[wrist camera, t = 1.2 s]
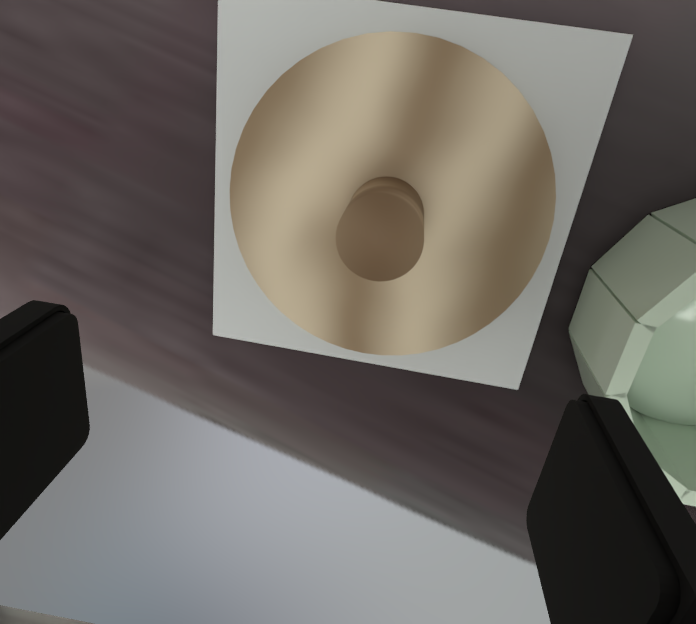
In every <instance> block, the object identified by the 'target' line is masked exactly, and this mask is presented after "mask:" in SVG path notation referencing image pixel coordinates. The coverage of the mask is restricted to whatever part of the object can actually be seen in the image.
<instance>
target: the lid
mask: <svg viewBox="0 0 696 624" xmlns="http://www.w3.org/2000/svg"><path fill="white" fill-rule="evenodd" d="M555 204H556V183H555V172H554V166H553V161H552V155H551V151H550V148H549V145H548V142H547V139H546V136H545V133H544V131H543V129H542V127H541V125H540V123H539V121H538V119H537V117H536V115H535V113H534V111H533V109H532V108H531V106H530V105H529V104H528V102H527V101H526V99H525V98H524V96H523V95H522V94H521V92H520V91H519V90H518V89H517V88H516V87H515V86H514V84H513V83H512V82H511V81H510V80H509V79H508V78H507V77H506V76H505V75H504V74H503V73H502V72H501V71H499V70H498V69H497V68H495V67H494V66H493V65H491V64H490V63H489V62H488V61H486V60H485V59H484V58H482V57H480V56H478V55H477V54H475V53H473V52H471V51H469V50H468V49H466V48H464V47H462V46H460V45H457V44H454V43H452V42H449V41H446V40H444V39H441V38H438V37H433V36H428V35H423V34H419V33H411V32H394V31H389V32H377V33H366V34H362V35H358V36H354V37H350V38H346V39H342V40H340V41H337V42H335V43H332V44H330V45H327V46H325V47H322V48H320V49H318V50H317V51H315V52H313V53H311V54H310V55H308V56H306V57H305V58H303V59H301V60H300V61H299V62H297V63H296V64H295V65H293V66H292V67H291V68H290V69H288V70H287V71H286V72H285V73H283V74H282V75H281V76H280V77H279V78H278V79H277V80H276V81H275V83H274V84H273V85H272V86H271V87H270V88H269V89H268V90H267V91H266V92H265V94H264V95H263V97H262V98H261V99H260V101H259V102H258V104H257V105H256V106H255V108H254V109H253V111H252V113H251V115H250V117H249V119H248V121H247V122H246V124H245V126H244V128H243V131H242V133H241V136H240V139H239V142H238V144H237V147H236V151H235V155H234V160H233V164H232V169H231V179H230V211H231V218H232V224H233V230H234V233H235V237H236V240H237V243H238V247H239V250H240V252H241V254H242V257H243V259H244V261H245V264H246V266H247V268H248V270H249V271H250V273H251V275H252V276H253V278H254V280H255V281H256V283H257V285H258V286H259V287H260V289H261V290H262V291H263V292H264V294H265V295H266V296H267V298H268V299H269V300H270V301H271V302H272V303H273V304H274V305H275V306H276V307H277V308H278V309H279V310H280V311H281V312H282V313H283V314H284V315H285V316H286V317H288V318H289V319H290V320H291V321H293V322H294V323H295V324H296V325H298V326H299V327H301V328H302V329H304V330H306V331H307V332H309V333H310V334H312V335H314V336H316V337H318V338H320V339H322V340H324V341H326V342H328V343H331V344H333V345H336V346H339V347H342V348H345V349H348V350H353V351H357V352H361V353H367V354H375V355H409V354H419V353H424V352H428V351H432V350H437V349H440V348H443V347H446V346H449V345H451V344H454V343H457V342H459V341H461V340H463V339H465V338H467V337H469V336H471V335H473V334H475V333H476V332H478V331H479V330H481V329H482V328H484V327H485V326H487V325H489V324H490V323H491V322H492V321H494V320H495V319H496V318H497V317H498V316H500V315H501V314H502V313H503V312H504V311H506V310H507V308H508V307H509V306H510V305H511V304H512V303H513V302H514V301H515V300H516V299H517V298H518V297H519V295H520V294H521V293H522V291H523V290H524V289H525V287H526V286H527V284H528V283H529V282H530V280H531V279H532V277H533V275H534V273H535V271H536V270H537V268H538V266H539V264H540V262H541V260H542V258H543V255H544V252H545V250H546V247H547V244H548V242H549V238H550V234H551V230H552V226H553V221H554V214H555Z"/></svg>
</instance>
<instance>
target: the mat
mask: <svg viewBox="0 0 696 624" xmlns="http://www.w3.org/2000/svg"><path fill="white" fill-rule="evenodd" d="M389 31H394V32H411V33H419V34H423V35H428V36H433V37H438V38H441V39H444V40H446V41H449V42H452V43H454V44H457V45H460V46H462V47H464V48H466V49H468V50H469V51H471V52H473V53H475V54H477V55H478V56H480V57H482V58H484V59H485V60H486V61H488V62H489V63H490V64H491V65H493V66H494V67H495V68H497V69H498V70H499V71H501V72H502V73H503V74H504V75H505V76H506V77H507V78H508V79H509V80H510V81H511V82H512V83H513V84H514V86H515V87H516V88H517V89H518V90H519V91H520V92H521V94H522V95H523V96H524V98H525V99H526V101H527V102H528V104H529V105H530V106H531V108H532V109H533V111H534V113H535V115H536V117H537V119H538V121H539V123H540V125H541V127H542V129H543V131H544V133H545V136H546V139H547V142H548V145H549V148H550V151H551V155H552V161H553V166H554V172H555V183H556V204H555V214H554V221H553V226H552V230H551V234H550V238H549V242H548V244H547V247H546V250H545V252H544V255H543V258H542V260H541V262H540V264H539V266H538V268H537V270H536V271H535V273H534V275H533V277H532V279H531V280H530V282H529V283H528V284H527V286H526V287H525V289H524V290H523V291H522V293H521V294H520V295H519V297H518V298H517V299H516V300H515V301H514V302H513V303H512V304H511V305H510V306H509V307H508V308H507V310H506V311H504V312H503V313H502V314H501V315H500V316H498V317H497V318H496V319H495V320H494V321H492V322H491V323H490V324H489V325H487V326H485V327H484V328H482V329H481V330H479V331H478V332H476V333H475V334H473V335H471V336H469V337H467V338H465V339H463V340H461V341H459V342H457V343H454V344H451V345H449V346H446V347H443V348H440V349H437V350H432V351H428V352H424V353H419V354H409V355H375V354H367V353H361V352H357V351H353V350H348V349H345V348H342V347H339V346H336V345H333V344H331V343H328V342H326V341H324V340H322V339H320V338H318V337H316V336H314V335H312V334H310V333H309V332H307V331H306V330H304V329H302V328H301V327H299V326H298V325H296V324H295V323H294V322H293V321H291V320H290V319H289V318H288V317H286V316H285V315H284V314H283V313H282V312H281V311H280V310H279V309H278V308H277V307H276V306H275V305H274V304H273V303H272V302H271V301H270V300H269V299H268V298H267V296H266V295H265V294H264V292H263V291H262V290H261V289H260V287H259V286H258V285H257V283H256V281H255V280H254V278H253V276H252V275H251V273H250V271H249V270H248V268H247V266H246V264H245V261H244V259H243V257H242V254H241V252H240V250H239V247H238V243H237V240H236V237H235V233H234V230H233V224H232V218H231V211H230V179H231V169H232V164H233V160H234V155H235V151H236V147H237V144H238V142H239V139H240V136H241V133H242V131H243V128H244V126H245V124H246V122H247V121H248V119H249V117H250V115H251V113H252V111H253V109H254V108H255V106H256V105H257V104H258V102H259V101H260V99H261V98H262V97H263V95H264V94H265V92H266V91H267V90H268V89H269V88H270V87H271V86H272V85H273V84H274V83H275V81H276V80H277V79H278V78H279V77H280V76H281V75H282V74H283V73H285V72H286V71H287V70H288V69H290V68H291V67H292V66H293V65H295V64H296V63H297V62H299V61H300V60H301V59H303V58H305V57H306V56H308V55H310V54H311V53H313V52H315V51H317V50H318V49H320V48H322V47H325V46H327V45H330V44H332V43H335V42H337V41H340V40H342V39H346V38H350V37H354V36H358V35H362V34H366V33H377V32H389ZM632 37H633V35H631V34H623V33H616V32H608V31H601V30H593V29H586V28H578V27H571V26H563V25H556V24H548V23H541V22H533V21H526V20H518V19H511V18H503V17H496V16H488V15H481V14H473V13H466V12H458V11H451V10H443V9H436V8H428V7H421V6H413V5H406V4H399V3H391V2H384V1H376V0H218V39H217V102H216V166H215V230H214V294H213V335H216V336H221V337H227V338H233V339H238V340H244V341H249V342H255V343H260V344H266V345H271V346H277V347H283V348H288V349H294V350H299V351H305V352H310V353H316V354H321V355H327V356H333V357H338V358H344V359H349V360H355V361H360V362H366V363H371V364H377V365H383V366H388V367H394V368H399V369H405V370H410V371H416V372H422V373H427V374H433V375H438V376H444V377H449V378H455V379H460V380H466V381H472V382H477V383H483V384H488V385H494V386H499V387H505V388H510V389H516V390H518V388H519V385H520V382H521V379H522V376H523V373H524V370H525V367H526V364H527V360H528V357H529V354H530V351H531V348H532V345H533V342H534V339H535V336H536V333H537V330H538V327H539V324H540V320H541V317H542V314H543V311H544V308H545V305H546V302H547V299H548V296H549V293H550V290H551V287H552V283H553V280H554V277H555V274H556V271H557V268H558V265H559V262H560V259H561V256H562V253H563V250H564V246H565V243H566V240H567V237H568V234H569V231H570V228H571V225H572V222H573V219H574V216H575V213H576V209H577V206H578V203H579V200H580V197H581V194H582V191H583V188H584V185H585V182H586V179H587V176H588V172H589V169H590V166H591V163H592V160H593V157H594V154H595V151H596V148H597V145H598V142H599V139H600V135H601V132H602V129H603V126H604V123H605V120H606V117H607V114H608V111H609V108H610V105H611V102H612V99H613V95H614V92H615V89H616V86H617V83H618V80H619V77H620V74H621V71H622V68H623V65H624V62H625V58H626V55H627V52H628V49H629V46H630V43H631V40H632Z"/></svg>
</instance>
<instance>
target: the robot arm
mask: <svg viewBox="0 0 696 624" xmlns="http://www.w3.org/2000/svg"><path fill="white" fill-rule="evenodd" d="M89 427H90V425H89V416H88V408H87V398H86V390H85V381H84V372H83V363H82V354H81V346H80V337H79V328H78V321H77V318H76V317H75V316H74V315H73V314H70V311H69V309H68V308H67V307H66V306H64V305H60V304H54V303H48V302H42V301H35V300H33V301H30V302H28V303H26V304H24V305H23V306H21V307H19V308H18V309H16V310H14V311H13V312H11V313H9V314H8V315H6V316H4V317H3V318H1V319H0V540H1V539H2V537H3V536H4V535H5V534H6V533H7V532H8V531H9V529H10V528H11V527H12V526H13V525H14V524H15V523H16V522H17V520H18V519H19V518H20V517H21V516H22V515H23V513H24V512H25V511H26V510H27V509H28V508H29V506H31V504H32V503H33V502H34V501H35V500H36V499H37V497H39V495H40V494H41V493H42V492H43V491H44V490H45V488H46V487H47V486H48V485H49V484H50V483H51V482H52V481H53V479H54V478H55V477H56V476H57V475H58V474H59V473H60V471H61V470H62V469H63V468H64V467H65V466H66V464H67V463H68V462H69V461H70V460H71V459H72V458H73V457H74V456H75V454H76V453H77V452H78V451H79V450H80V449H81V448H82V446H83V445H84V443H85V442H86V440H87V438H88V435H89V430H90V428H89ZM527 529H528V533H529V537H530V541H531V545H532V549H533V553H534V557H535V561H536V565H537V569H538V573H539V577H540V582H541V586H542V590H543V594H544V598H545V602H546V606H547V610H548V614H549V618H550V622H551V624H696V524H695V523H694V521H693V519H692V518H691V516H690V515H689V513H688V511H687V510H686V508H685V506H684V505H683V503H682V502H681V500H680V498H679V497H678V495H677V493H676V492H675V490H674V489H673V487H672V485H671V484H670V482H669V481H668V479H667V477H666V476H665V474H664V472H663V471H662V469H661V468H660V466H659V464H658V463H657V461H656V459H655V458H654V456H653V455H652V453H651V451H650V450H649V448H648V446H647V445H646V443H645V442H644V440H643V438H642V437H641V435H640V434H639V432H638V430H637V429H636V427H635V425H634V424H633V422H632V421H631V419H630V417H629V416H628V414H627V412H626V411H625V409H624V408H623V406H622V404H621V403H620V402H619V401H618V400H616V399H612V398H606V397H600V396H594V395H588V394H583V395H581V396H580V398H579V399H578V401H577V400H571V401H569V403H568V404H567V406H566V409H565V411H564V414H563V416H562V419H561V422H560V424H559V427H558V430H557V432H556V435H555V437H554V440H553V443H552V445H551V448H550V451H549V453H548V456H547V458H546V461H545V464H544V466H543V469H542V472H541V474H540V477H539V479H538V482H537V485H536V487H535V490H534V493H533V495H532V498H531V500H530V503H529V506H528V509H527ZM0 624H93V623H87V622H83V621H78V620H73V619H68V618H62V617H57V616H52V615H47V614H42V613H36V612H32V611H26V610H21V609H16V608H11V607H6V606H1V605H0Z"/></svg>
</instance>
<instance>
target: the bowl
mask: <svg viewBox="0 0 696 624" xmlns="http://www.w3.org/2000/svg"><path fill="white" fill-rule="evenodd" d="M651 215H652V216H650V215H649V214H648V215H647V216H646V217H645V218H644V219H643V220H642V221H641V222H639V223H638V224H637V225H636V226H635V227H634V228H633V229H632V230H631V231H630V232H629V233H627V234H626V235H625V236H624V237H623V238H622V239H621V240H620V241H619V242H618V243H616V244H615V245H614V246H613V247H612V248H611V249H610V250H609V251H608V252H607V253H605V254H604V255H603V256H602V257H601V258H600V259H599V260H598V261H597V262H596V263H595V264H593V265H592V266H591V267H592V268H593V269H594V270H593V269H589V272H588V275H587V278H586V280H585V283H584V286H583V289H582V292H581V295H580V297H579V300H578V303H577V306H576V309H575V312H574V314H573V317H572V320H571V323H570V326H569V328H568V329H569V331H568V332H569V335H570V339H571V343H572V346H573V350H574V353H575V357H576V360H577V364H578V368H579V371H580V375H581V378H582V382H583V385H584V386H585V388H586V390H587V392H588V394H589V395H594V396H600V397H606V398H612V399H616V400H618V401H619V402H620V403H621V404H622V406H623V408H624V409H625V411H626V412H627V414H628V416H629V417H630V419H631V421H632V422H633V424H634V425H635V427H636V429H637V430H638V432H639V434H640V435H641V437H642V438H643V440H644V442H645V443H646V445H647V446H648V448H649V450H650V451H651V453H652V455H653V456H654V458H655V459H656V461H657V463H658V464H659V466H660V468H661V469H662V471H663V472H664V474H665V476H666V477H667V479H668V481H669V482H670V484H671V485H672V487H673V489H674V490H675V492H676V493H677V495H678V497H679V498H680V500H681V502H682V503H683V504H686V505H691V506H696V198H695V199H692V200H689V201H686V202H683V203H680V204H677V205H673V206H670V207H667V208H664V209H661V210H658V211H655V212H652V213H651Z"/></svg>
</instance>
